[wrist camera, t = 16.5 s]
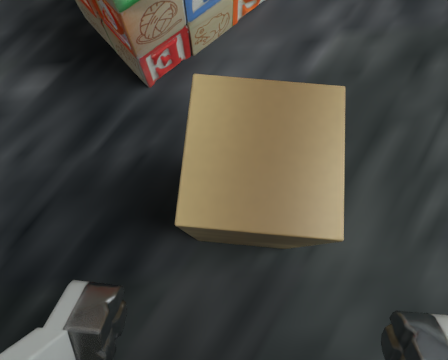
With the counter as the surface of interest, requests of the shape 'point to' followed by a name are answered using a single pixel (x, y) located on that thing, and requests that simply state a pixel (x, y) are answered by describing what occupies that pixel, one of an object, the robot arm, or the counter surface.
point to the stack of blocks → (161, 29)
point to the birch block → (263, 163)
